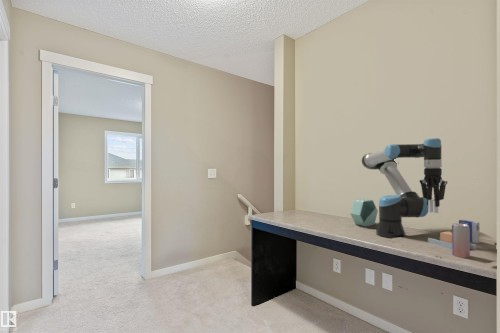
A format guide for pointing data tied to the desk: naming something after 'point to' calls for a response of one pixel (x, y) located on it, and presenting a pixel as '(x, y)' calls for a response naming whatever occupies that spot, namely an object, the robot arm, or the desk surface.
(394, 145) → the robot arm
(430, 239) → the chute
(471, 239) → the walkman
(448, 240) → the block
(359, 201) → the teal faceted polyhedron
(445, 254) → the desk surface
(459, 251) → the beverage can
